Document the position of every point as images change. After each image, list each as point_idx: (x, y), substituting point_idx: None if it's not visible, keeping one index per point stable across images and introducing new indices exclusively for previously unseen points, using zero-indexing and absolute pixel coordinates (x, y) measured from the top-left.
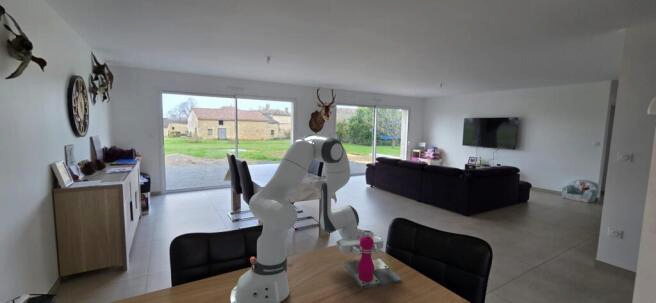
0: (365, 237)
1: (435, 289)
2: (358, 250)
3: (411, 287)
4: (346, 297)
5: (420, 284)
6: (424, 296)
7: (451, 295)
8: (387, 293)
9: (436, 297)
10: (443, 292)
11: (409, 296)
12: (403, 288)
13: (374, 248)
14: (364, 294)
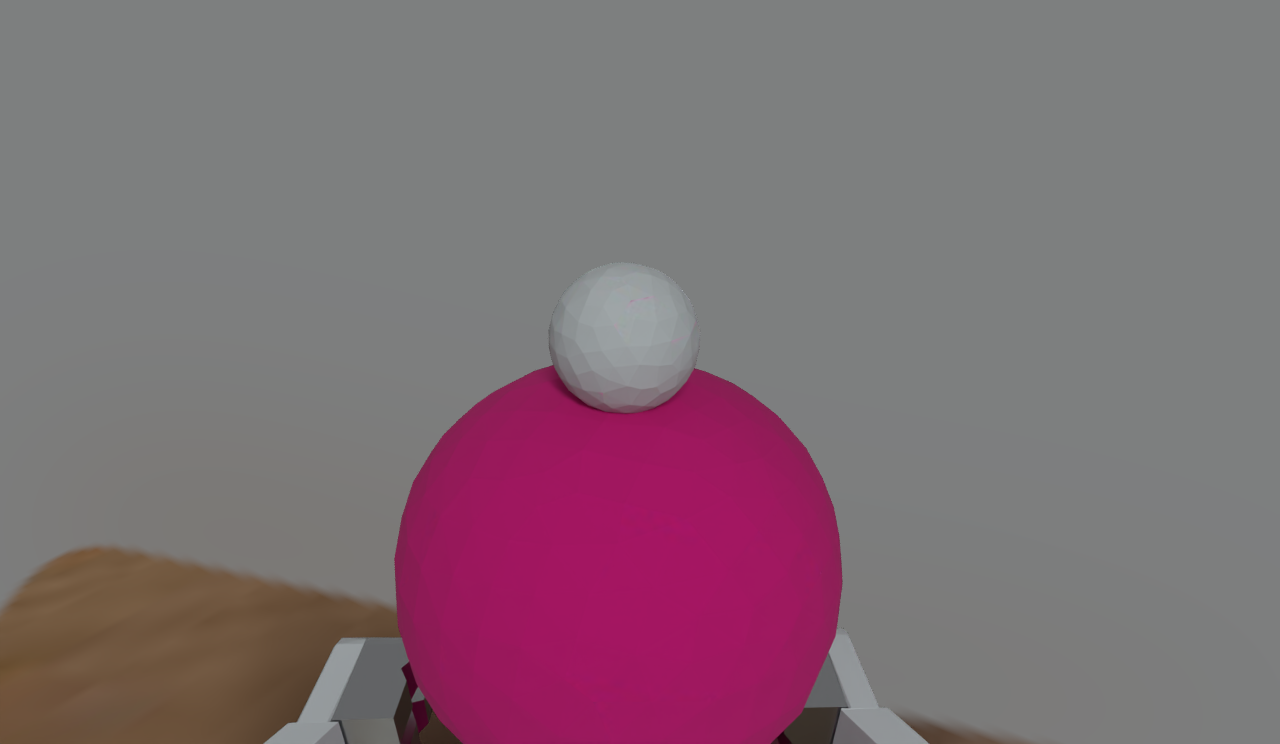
0: (689, 379)
1: (50, 636)
2: (847, 649)
3: (200, 712)
4: (915, 718)
5: (51, 736)
6: (252, 587)
7: (60, 556)
8: None
9: (187, 562)
10: (56, 592)
11: (359, 610)
12: (291, 716)
13: (401, 674)
14: None
